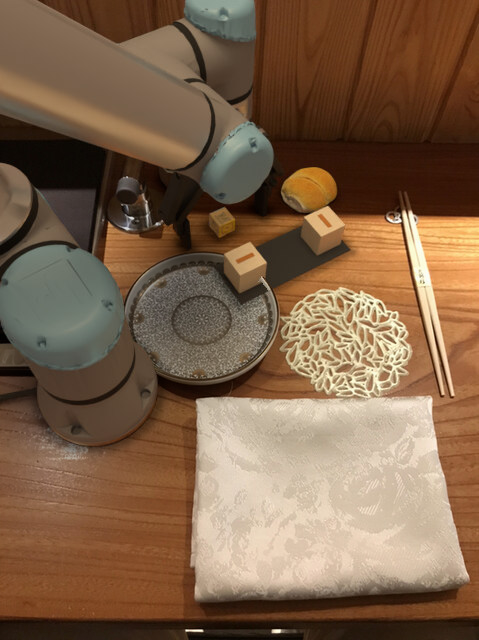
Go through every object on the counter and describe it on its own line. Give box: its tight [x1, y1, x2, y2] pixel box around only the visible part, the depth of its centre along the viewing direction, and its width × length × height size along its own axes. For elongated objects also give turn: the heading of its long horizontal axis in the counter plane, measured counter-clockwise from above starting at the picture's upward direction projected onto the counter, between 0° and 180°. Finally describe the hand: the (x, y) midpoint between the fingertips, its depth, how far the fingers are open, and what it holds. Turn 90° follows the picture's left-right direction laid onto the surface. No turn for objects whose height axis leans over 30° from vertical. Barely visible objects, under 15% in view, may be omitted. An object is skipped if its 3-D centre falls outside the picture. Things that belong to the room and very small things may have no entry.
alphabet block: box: [208, 206, 236, 239], centre depth 88 cm, size 3×3×3 cm
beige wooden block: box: [301, 205, 346, 255], centre depth 86 cm, size 4×4×5 cm
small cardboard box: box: [223, 241, 267, 293], centre depth 82 cm, size 4×4×5 cm
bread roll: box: [280, 166, 338, 214], centre depth 92 cm, size 8×9×4 cm
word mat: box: [213, 224, 352, 305], centre depth 86 cm, size 20×8×1 cm, turn 121°
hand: (223, 228), depth 89 cm, fingers open, 13 cm apart
